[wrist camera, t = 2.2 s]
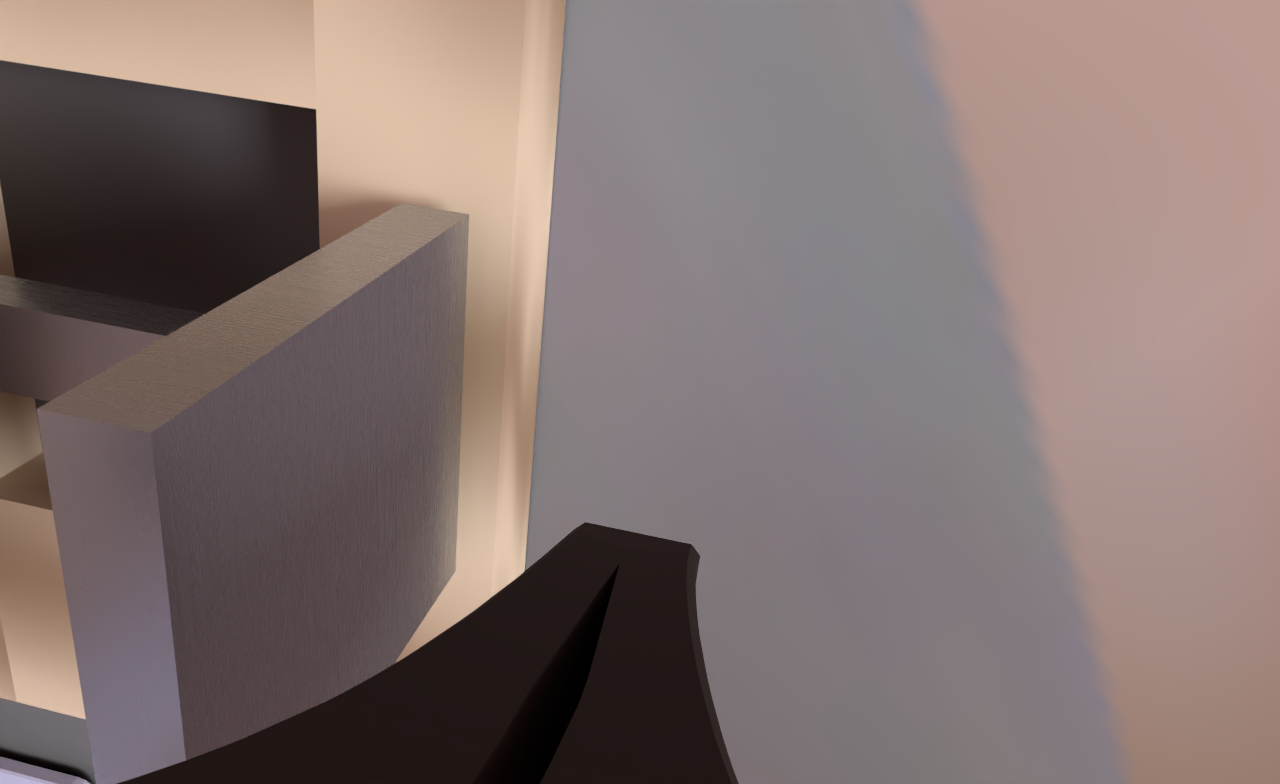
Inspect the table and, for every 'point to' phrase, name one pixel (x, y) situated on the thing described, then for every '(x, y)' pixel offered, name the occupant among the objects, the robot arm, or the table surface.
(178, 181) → the deck
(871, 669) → the table surface
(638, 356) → the table surface
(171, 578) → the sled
